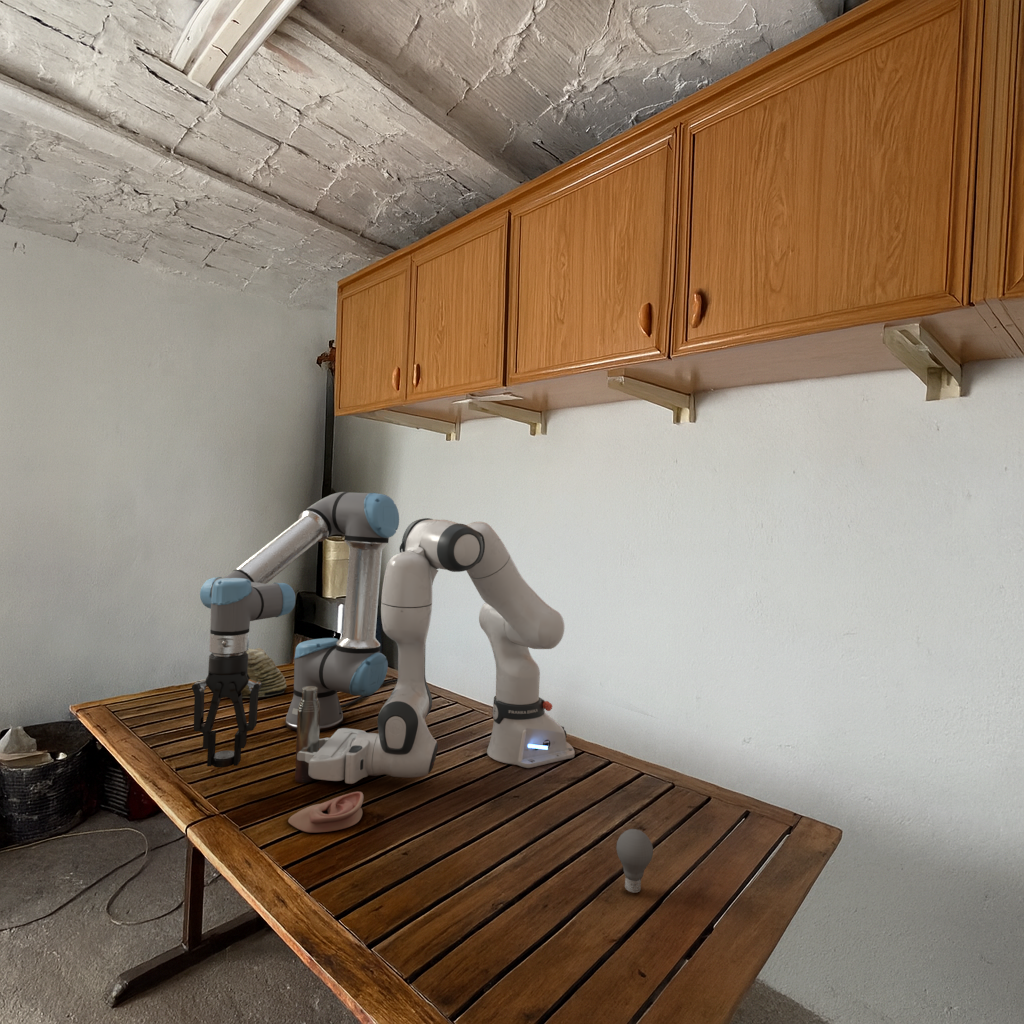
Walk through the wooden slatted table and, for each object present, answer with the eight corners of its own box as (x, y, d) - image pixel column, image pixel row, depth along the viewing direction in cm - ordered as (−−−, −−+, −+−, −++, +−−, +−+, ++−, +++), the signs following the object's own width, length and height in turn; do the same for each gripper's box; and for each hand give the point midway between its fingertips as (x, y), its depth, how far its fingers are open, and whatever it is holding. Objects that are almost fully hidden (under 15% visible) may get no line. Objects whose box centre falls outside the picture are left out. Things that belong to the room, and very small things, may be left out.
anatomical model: (280, 807, 120) (311, 781, 131) (279, 828, 120) (310, 800, 131) (344, 817, 117) (370, 790, 129) (343, 838, 118) (370, 809, 129)
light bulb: (610, 879, 108) (613, 822, 108) (644, 879, 109) (647, 822, 109) (619, 902, 102) (622, 840, 102) (655, 901, 103) (658, 840, 103)
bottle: (292, 775, 143) (296, 686, 143) (314, 771, 146) (318, 684, 145) (297, 784, 139) (301, 692, 138) (320, 780, 141) (323, 689, 141)
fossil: (218, 695, 195) (220, 647, 195) (278, 685, 208) (279, 640, 207) (228, 703, 189) (230, 653, 188) (289, 692, 201) (290, 645, 201)
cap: (210, 768, 130) (210, 759, 130) (213, 759, 134) (213, 751, 134) (234, 766, 131) (235, 758, 131) (237, 757, 136) (237, 749, 136)
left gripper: (177, 656, 128) (172, 771, 128) (269, 657, 131) (264, 769, 131) (190, 648, 135) (185, 757, 135) (276, 648, 138) (271, 755, 138)
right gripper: (377, 723, 152) (320, 719, 152) (351, 757, 131) (285, 753, 132) (376, 749, 152) (319, 745, 153) (349, 787, 131) (284, 783, 132)
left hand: (224, 763), depth 133 cm, fingers closed on cap, 4 cm apart
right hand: (303, 749), depth 142 cm, fingers closed on bottle, 5 cm apart
